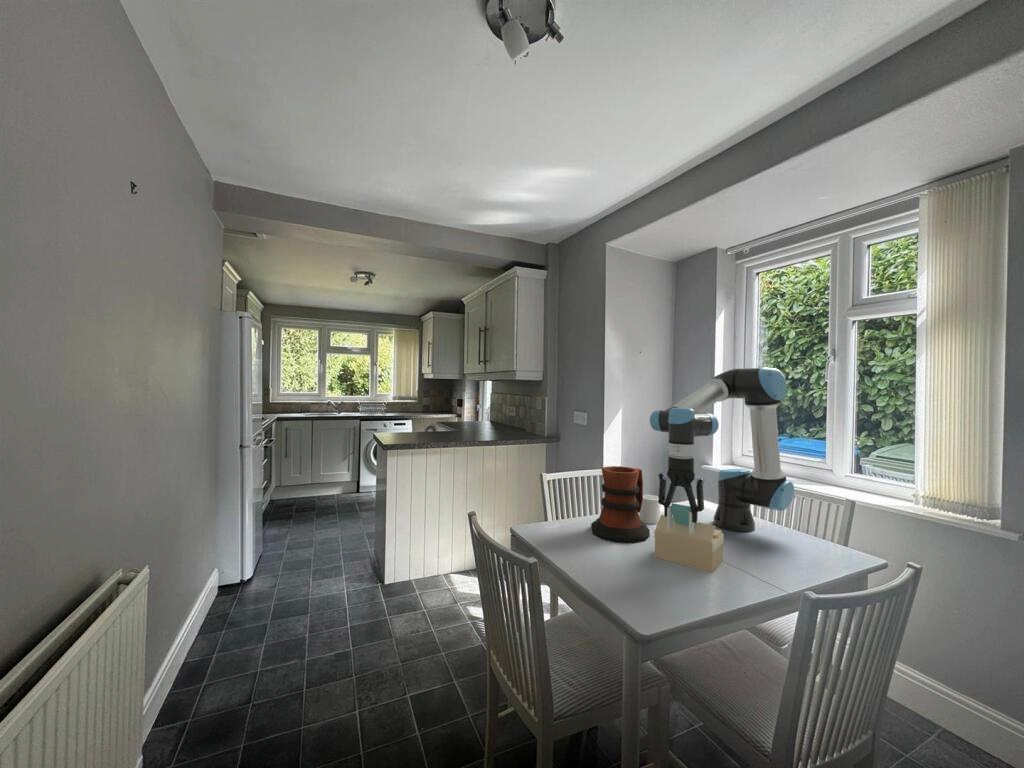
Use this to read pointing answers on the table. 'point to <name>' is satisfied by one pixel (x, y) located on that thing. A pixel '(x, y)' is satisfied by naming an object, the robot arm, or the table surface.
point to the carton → (690, 550)
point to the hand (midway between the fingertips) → (680, 529)
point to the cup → (650, 509)
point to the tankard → (621, 506)
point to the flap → (685, 524)
